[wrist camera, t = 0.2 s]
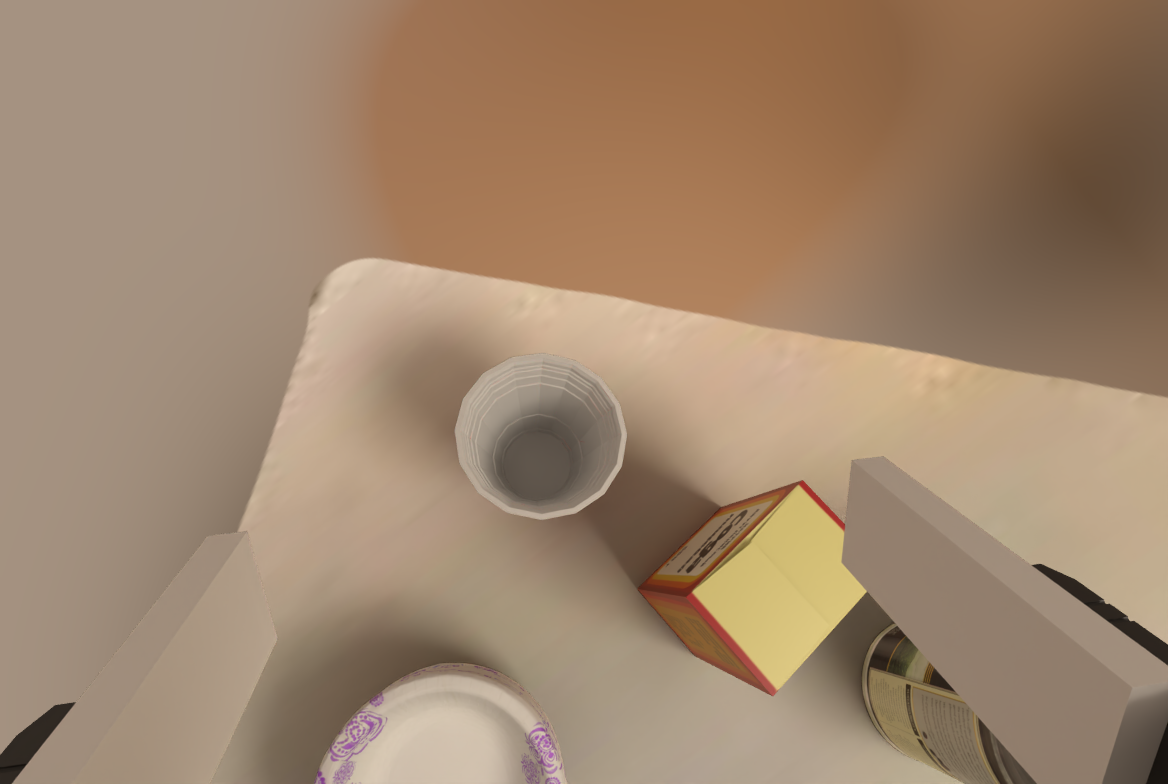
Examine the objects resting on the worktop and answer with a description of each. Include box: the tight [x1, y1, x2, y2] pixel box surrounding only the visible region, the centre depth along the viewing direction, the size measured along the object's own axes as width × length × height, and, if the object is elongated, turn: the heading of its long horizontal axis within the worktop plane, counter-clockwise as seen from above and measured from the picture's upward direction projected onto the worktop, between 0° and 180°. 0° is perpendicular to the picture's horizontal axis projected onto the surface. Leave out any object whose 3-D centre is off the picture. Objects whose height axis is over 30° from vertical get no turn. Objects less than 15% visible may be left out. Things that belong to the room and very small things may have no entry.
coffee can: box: [862, 623, 1037, 784], centre depth 41 cm, size 10×10×14 cm
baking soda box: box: [637, 480, 867, 696], centre depth 41 cm, size 10×6×16 cm
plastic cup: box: [454, 353, 627, 520], centre depth 44 cm, size 11×11×12 cm
